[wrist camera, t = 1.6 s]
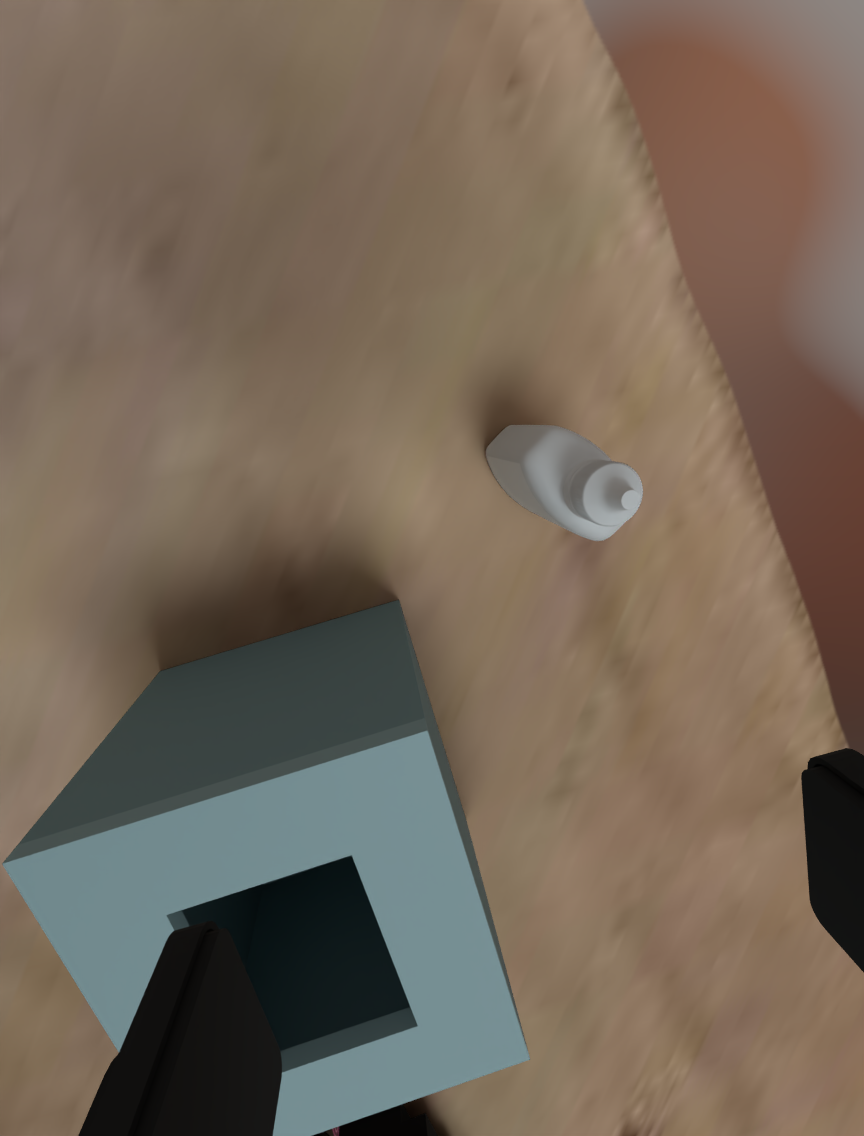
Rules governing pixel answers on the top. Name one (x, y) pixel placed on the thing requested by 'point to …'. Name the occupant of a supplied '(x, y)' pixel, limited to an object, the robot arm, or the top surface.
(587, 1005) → the top surface
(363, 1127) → the game console
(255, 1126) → the robot arm
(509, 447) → the eye dropper bottle
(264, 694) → the drop box
